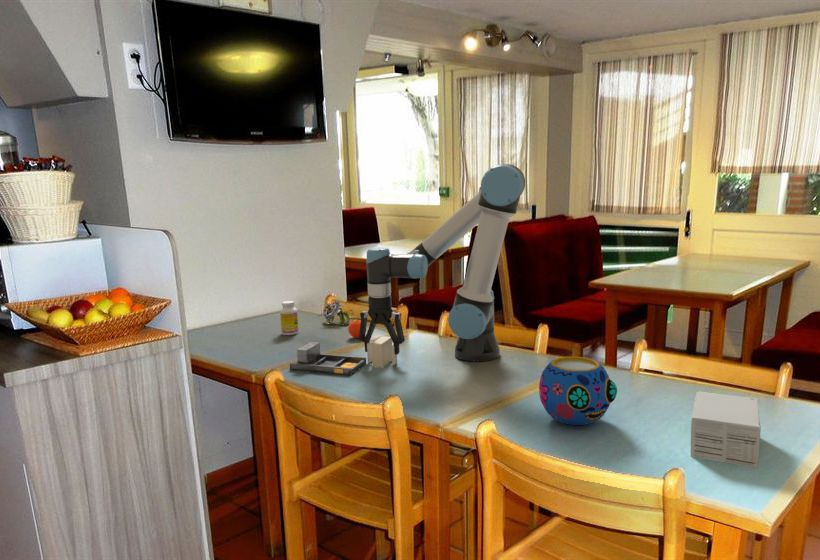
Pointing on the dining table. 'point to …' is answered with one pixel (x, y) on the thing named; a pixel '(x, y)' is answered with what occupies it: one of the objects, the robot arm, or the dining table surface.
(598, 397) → the ceramic pot
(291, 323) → the supplement bottle
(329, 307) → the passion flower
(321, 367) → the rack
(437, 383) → the dining table surface
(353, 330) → the clementine
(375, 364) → the cream rectangular block
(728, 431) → the supplement box
